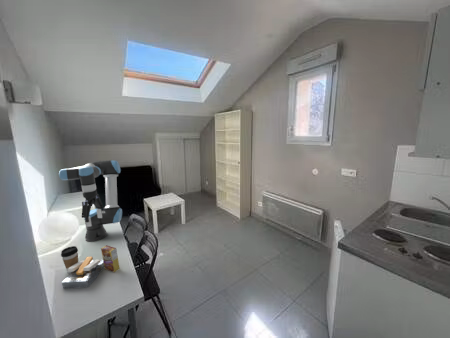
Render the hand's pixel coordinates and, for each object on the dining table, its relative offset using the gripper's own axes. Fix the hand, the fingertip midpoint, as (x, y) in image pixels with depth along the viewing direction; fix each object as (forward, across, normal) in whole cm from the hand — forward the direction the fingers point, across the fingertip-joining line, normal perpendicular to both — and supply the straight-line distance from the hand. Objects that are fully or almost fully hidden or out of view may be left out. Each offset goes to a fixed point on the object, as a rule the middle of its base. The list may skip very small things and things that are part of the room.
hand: (94, 221), depth 128 cm
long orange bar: (+21, +15, 0) cm, 26 cm away
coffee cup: (+28, +10, -12) cm, 32 cm away
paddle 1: (+21, +16, -4) cm, 26 cm away
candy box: (+28, +11, +13) cm, 33 cm away
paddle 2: (+21, +15, +5) cm, 26 cm away
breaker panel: (+28, +16, 0) cm, 32 cm away
